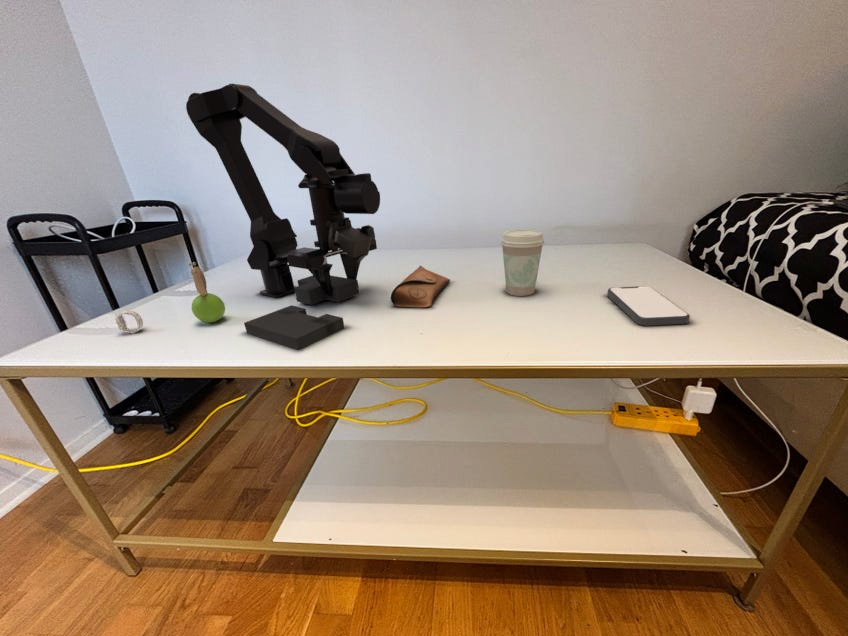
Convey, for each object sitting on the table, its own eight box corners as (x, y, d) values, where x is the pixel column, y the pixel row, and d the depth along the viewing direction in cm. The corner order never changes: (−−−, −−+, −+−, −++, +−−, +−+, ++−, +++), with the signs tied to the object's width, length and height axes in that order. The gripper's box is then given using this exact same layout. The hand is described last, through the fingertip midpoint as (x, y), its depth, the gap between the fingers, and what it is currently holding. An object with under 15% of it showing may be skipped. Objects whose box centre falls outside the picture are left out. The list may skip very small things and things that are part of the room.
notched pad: (246, 333, 72) (243, 322, 71) (293, 314, 80) (291, 305, 79) (298, 350, 65) (295, 338, 64) (344, 328, 73) (342, 317, 72)
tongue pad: (285, 298, 86) (282, 285, 85) (321, 286, 94) (319, 273, 92) (324, 308, 80) (321, 293, 79) (359, 293, 87) (357, 279, 86)
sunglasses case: (432, 305, 79) (413, 276, 77) (404, 321, 82) (385, 293, 80) (451, 279, 95) (436, 254, 93) (427, 293, 98) (411, 269, 96)
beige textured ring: (147, 328, 76) (139, 308, 75) (143, 332, 75) (134, 312, 73) (126, 331, 76) (117, 310, 74) (121, 335, 74) (111, 314, 72)
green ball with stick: (196, 331, 74) (173, 265, 69) (197, 319, 79) (175, 257, 74) (229, 324, 76) (209, 260, 71) (228, 314, 82) (209, 253, 76)
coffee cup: (495, 296, 84) (495, 236, 79) (505, 284, 91) (507, 228, 86) (536, 299, 81) (540, 237, 76) (544, 287, 88) (548, 229, 83)
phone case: (691, 325, 68) (648, 293, 82) (694, 316, 67) (650, 285, 81) (638, 328, 68) (604, 295, 82) (639, 319, 67) (605, 287, 81)
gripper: (318, 223, 68) (334, 312, 75) (392, 208, 81) (400, 284, 89) (276, 220, 73) (295, 303, 81) (352, 206, 87) (362, 278, 94)
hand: (341, 291), depth 86 cm, fingers closed on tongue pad, 6 cm apart
